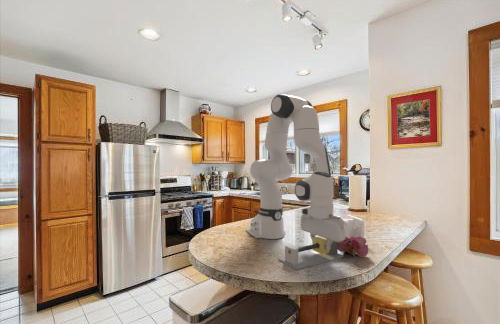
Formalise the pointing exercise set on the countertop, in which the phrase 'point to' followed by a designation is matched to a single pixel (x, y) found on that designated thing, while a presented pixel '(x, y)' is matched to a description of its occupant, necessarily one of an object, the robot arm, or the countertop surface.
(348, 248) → the flower
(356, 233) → the cable organizer
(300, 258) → the grey slider rail toy
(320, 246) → the sleeve
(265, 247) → the countertop surface
